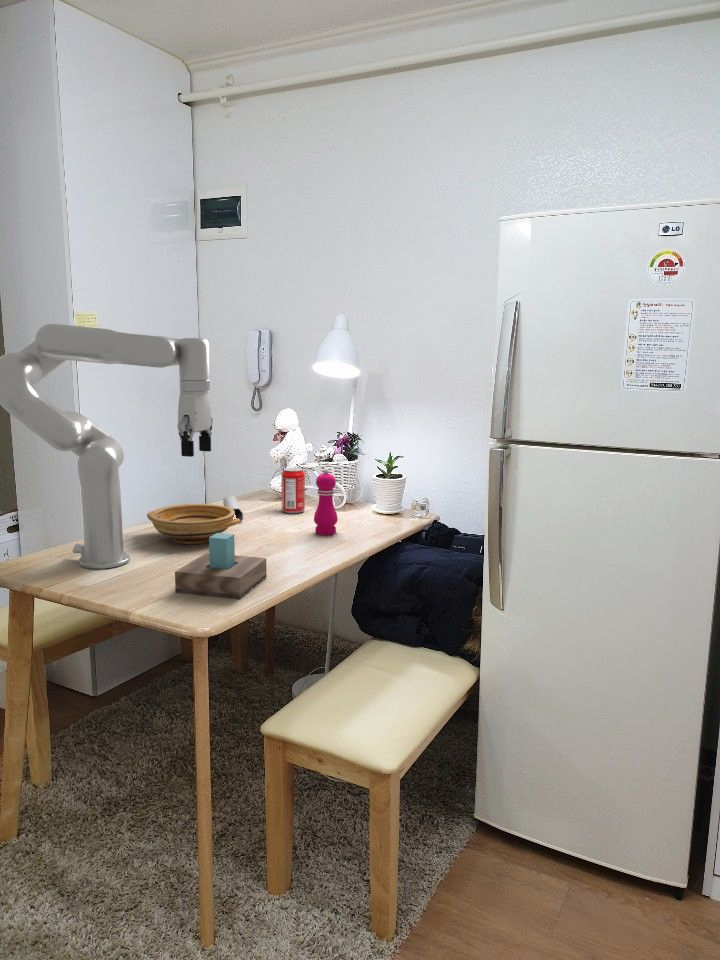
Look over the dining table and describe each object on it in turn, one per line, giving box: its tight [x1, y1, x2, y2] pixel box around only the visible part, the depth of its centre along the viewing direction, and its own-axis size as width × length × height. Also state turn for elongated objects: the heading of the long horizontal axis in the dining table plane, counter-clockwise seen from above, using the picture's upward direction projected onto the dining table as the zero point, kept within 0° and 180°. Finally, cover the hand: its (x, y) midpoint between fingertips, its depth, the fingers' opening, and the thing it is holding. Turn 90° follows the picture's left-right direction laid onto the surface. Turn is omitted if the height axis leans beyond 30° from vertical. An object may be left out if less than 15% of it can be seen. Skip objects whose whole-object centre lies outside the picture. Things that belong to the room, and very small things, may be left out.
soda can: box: [281, 467, 306, 515], centre depth 248 cm, size 8×8×15 cm
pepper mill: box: [313, 467, 338, 536], centre depth 220 cm, size 7×7×20 cm
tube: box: [222, 494, 244, 524], centre depth 244 cm, size 5×5×25 cm
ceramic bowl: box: [146, 503, 241, 544], centre depth 213 cm, size 30×24×8 cm
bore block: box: [174, 552, 268, 600], centre depth 172 cm, size 16×16×5 cm
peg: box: [208, 532, 236, 569], centre depth 172 cm, size 4×4×11 cm
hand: (196, 453), depth 189 cm, fingers open, 9 cm apart
